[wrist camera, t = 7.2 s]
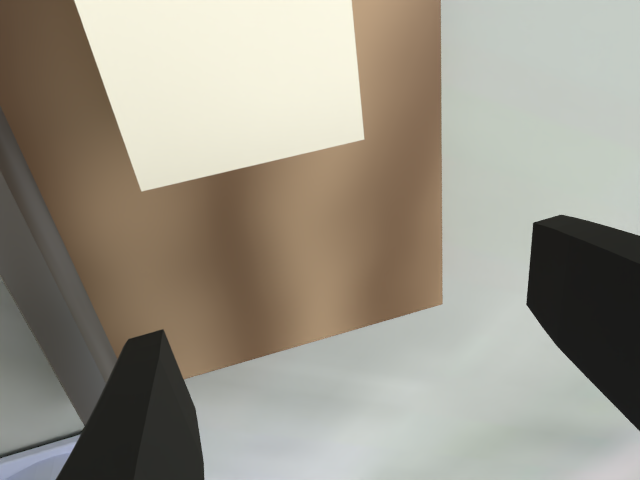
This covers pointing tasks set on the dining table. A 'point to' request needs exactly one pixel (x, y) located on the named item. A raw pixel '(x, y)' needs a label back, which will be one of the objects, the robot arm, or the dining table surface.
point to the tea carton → (225, 81)
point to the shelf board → (212, 211)
